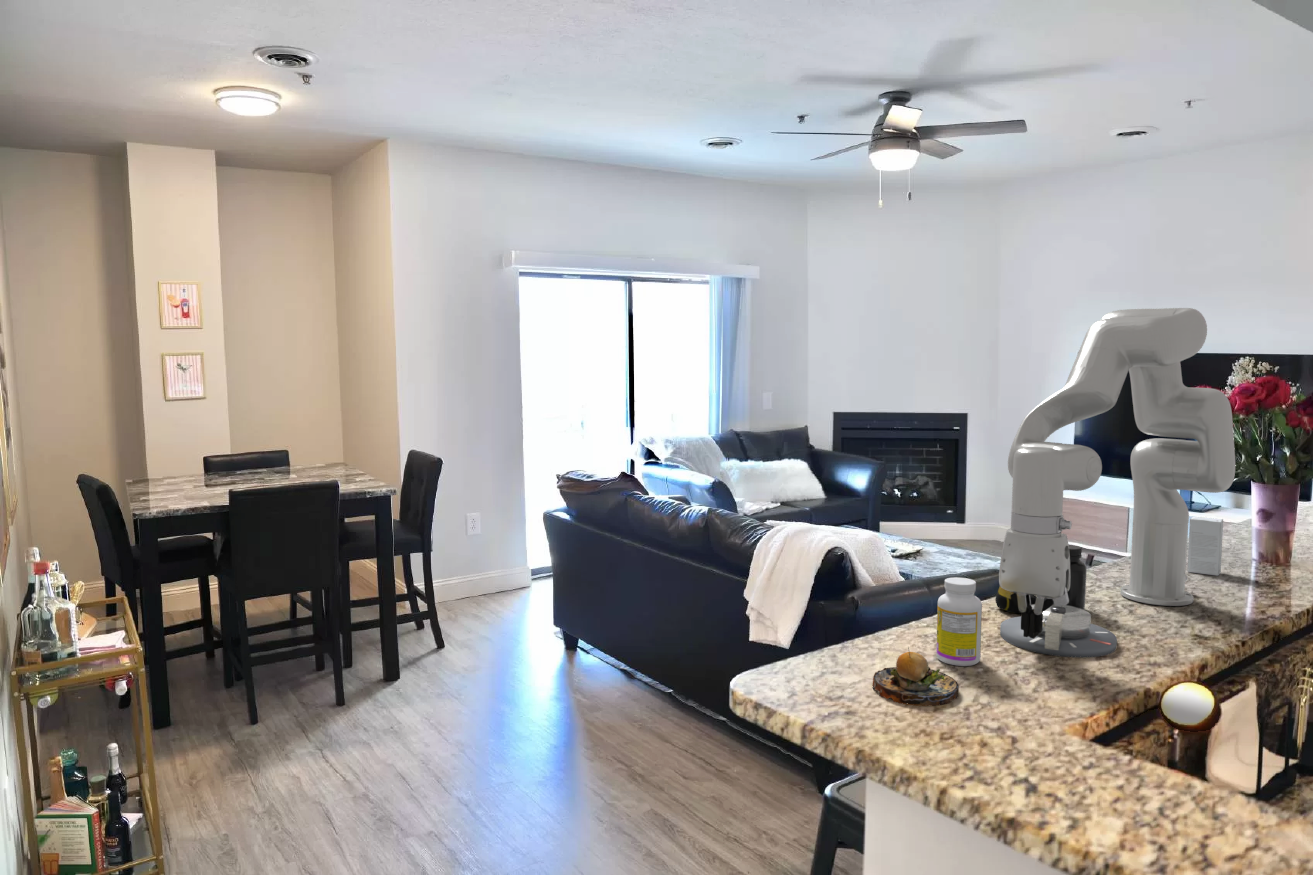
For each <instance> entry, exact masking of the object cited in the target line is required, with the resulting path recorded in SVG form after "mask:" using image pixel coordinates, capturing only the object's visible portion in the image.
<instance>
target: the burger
mask: <svg viewBox="0 0 1313 875" xmlns="http://www.w3.org/2000/svg"><path fill="white" fill-rule="evenodd" d="M909 648H910V647H909V646H908V651H906V652H903V653H902V654H900V655H899V656H898V658H897V659H896V663H895V664H896V666H895V667H894V666H893V667H891V666H890V667H883V669H881V670H878V671H876V672H874V674H873V676H872V686H873V687H872V690H875V691H877V692H879V695H880V697H881V698H882V697H883V698H884V699H885V698H886V699H887V700H889V699H891V700H893V702H894V703H899V704H902V703H903V704H902V705H908V706H916V707H917V706H918V707H938V706H945V705H949V704H950V703H952V702H953V701H954V700H958V698H959V691H960V690H959V686H960V685H959V683H958V681H957V680H956V679H954V678H953V677H951V676H950V675H949V674H946V673H944V672H941V671H940V670H941V669H940V668H937V669H936V670H935V669H932V668H931V667H930V666H929V662H928V660H927V659H926V658H925V656H923V655H922V654H920V653H918V652H915V651H910V649H909ZM906 703H908V704H906Z"/></svg>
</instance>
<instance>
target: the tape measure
mask: <svg viewBox="0 0 1313 875" xmlns="http://www.w3.org/2000/svg"><path fill="white" fill-rule="evenodd" d="M1036 597H1037V596H1035V595H1030V599H1031V605H1033V604H1035V602H1036ZM995 604H996V607H997V608H999V609H1001V610H1004V611H1006V612H1008V613H1010V614H1014V613H1018V614H1021V612H1020V611H1019V608H1018V606H1017V605H1016V604H1015V603H1014V602H1013V601H1012V599H1010V598H1007V597H1004V596H1002V595H1000V594H999V593H998V591H996V594H995Z"/></svg>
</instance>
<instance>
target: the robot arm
mask: <svg viewBox="0 0 1313 875" xmlns="http://www.w3.org/2000/svg"><path fill="white" fill-rule="evenodd" d="M1207 335H1208V325H1207V321H1206V318H1205V317H1204V315H1203V314H1202V312H1200V311H1199V310H1198V309H1195V308H1192V307H1173V308H1171V307H1170V308H1167V307H1166V308H1129V309H1119V310H1118V309H1117V310H1113V311H1110V312H1107V313H1106V314H1105V315H1103V316H1102V317H1101V319H1100V320H1096V322H1095V321H1094V323H1093V324H1091V325H1090V326H1089V327H1088V329H1087V331H1086V333H1085V335H1084V338H1083V340H1082V342H1081V345H1080V347H1079V349H1078V352H1077V354H1076V358H1075V360H1074V362H1073V363H1072V364H1073V365H1072V368H1071V369H1070V372H1069V373H1068V374H1069V375H1068V377H1067V380H1066V382H1065V384H1064V385H1063V387H1062V388H1060V389H1059V390H1057V391H1055V392H1054V393H1053V394H1051V395H1049V396H1048V397H1047V398H1045V399H1044V400H1043V401H1041V402H1040V403H1039V404H1038V405H1036V406H1035V407H1034V408H1033V409H1032V410H1031V411H1030V412H1029V413H1027V415H1026V416H1025V417H1024V419H1023V420H1022V421H1021V424H1020V425H1019V427H1018V429H1017V432H1016V434H1015V437H1014V439H1013V441H1012V444H1011V447H1010V448H1009V453H1008V459H1007V470H1008V473H1009V475H1010V477H1011V478H1012V488H1011V489H1012V492H1011V493H1012V494H1011V512H1010V514H1011V515H1010V516H1011V517H1010V528H1007V529H1006V532H1005V536H1004V539H1003V543H1002V544H1003V545H1002V550H1001V556H1000V560H999V561H1000V562H999V572H998V584H999V588H998V590H997V592H998V593H999V594H1000V595H1002V596H1004V597H1007V598H1010V599H1012V601H1013V602H1014V603H1015V604H1016V605H1017V606H1018V608H1019V611H1020V612H1021V613H1020V614H1021V615H1020V616H1021V630H1024V633H1023V636H1024V637H1030V638H1033V639H1034V638H1035V637H1036V636H1037V635H1038V634H1039V633H1041V632H1042V626H1043V612H1044V611H1045V610H1047V609H1048V608H1050V607H1051V606H1065V605H1067V604H1068V603H1069V598H1068V593H1067V592H1068V591H1069V589H1070V554H1069V545H1068V544H1069V540H1068V535H1067V534H1066V533H1063V531H1064V530H1071V529H1072V524H1073V523H1072V521H1071V520H1067V519H1065V517H1064V514H1063V506H1064V491H1074V492H1079V491H1084V490H1085V491H1086V490H1088V489H1090V488H1091V487H1093V486H1095V485H1096V484H1097V483H1098V481H1099V479H1100V477H1101V475H1102V472H1103V471H1102V470H1103V464H1102V459H1101V457H1100V456H1099V454H1098V452H1096V451H1095V449H1093V448H1091V447H1089V446H1086V445H1081V444H1074V443H1072V444H1071V443H1063V442H1050V441H1046V440H1047V439H1048V438H1049V437H1050V436H1051V435H1052V434H1054V433H1055V432H1056V431H1058V430H1060V429H1062V428H1064V427H1066V426H1068V425H1071V424H1073V423H1077V422H1081V421H1084V420H1086V419H1089V418H1093V417H1095V416H1098V415H1100V414H1104V413H1106V412H1108V411H1109V410H1111V409H1112V408H1113V407H1115V406H1116V404H1117V401H1118V398H1119V397H1120V394H1121V391H1122V389H1123V385H1124V383H1125V381H1126V378H1127V375H1128V373H1129V378H1130V388H1131V398H1132V405H1133V406H1132V407H1133V415H1134V421H1135V425H1136V427H1137V429H1138V430H1139V431H1140V432H1142V433H1143V434H1146V435H1148V436H1149V435H1150V436H1158V438H1154V437H1153V438H1149V439H1148V438H1147V439H1145V440H1142V441H1139V442H1138V443H1136V445H1134V447H1133V449H1132V451H1131V453H1130V461H1129V462H1130V463H1129V464H1130V471H1131V478H1132V479H1131V480H1132V485H1133V514H1132V530H1131V531H1132V532H1131V533H1132V535H1131V550H1130V551H1131V552H1130V553H1131V554H1130V569H1129V573H1130V574H1129V584H1126V585H1125V584H1124V585H1123V586H1121V588H1120V595H1121V597H1124V598H1126V599H1129V600H1131V601H1135V602H1138V603H1143V604H1148V605H1153V606H1154V605H1156V606H1164V607H1166V606H1167V607H1181V606H1182V607H1183V606H1188V605H1191V604H1192V603H1194V595H1193V594H1192V593H1190V592H1188V591H1186V590H1185V588H1186V586H1185V585H1186V582H1187V581H1188V575H1187V574H1186V571H1187V570H1186V568H1187V556H1188V554H1187V553H1188V552H1187V550H1188V539H1189V524H1190V514H1189V508H1188V505H1187V504H1186V502H1185V500H1184V498H1183V496H1181V494H1180V493H1179V491H1181V490H1182V491H1192V492H1200V493H1212V494H1215V493H1223V492H1225V491H1227V490H1228V489H1230V487H1231V486H1232V484H1233V482H1234V480H1235V474H1236V452H1235V451H1236V450H1235V439H1234V438H1235V437H1234V425H1233V424H1234V422H1233V413H1232V406H1231V402H1230V400H1229V398H1228V396H1227V395H1226V394H1225V393H1224V392H1223V391H1221V390H1219V389H1217V388H1211V387H1188V386H1186V385H1185V384H1184V383H1183V382H1184V381H1183V376H1182V375H1183V374H1182V367H1181V366H1182V365H1181V362H1183V361H1184V360H1187V359H1190V358H1191V357H1193V356H1195V355H1197V353H1198V352H1200V351H1201V349H1202V348H1203V346H1204V344H1205V343H1206V340H1207ZM1159 437H1165V438H1159ZM1166 437H1167V438H1166ZM1176 438H1178V439H1176ZM1179 438H1180V439H1179ZM1186 439H1194V440H1186ZM1030 595H1035V596H1036V602H1035V607H1034V609H1032V606H1031V599H1030Z"/></svg>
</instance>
